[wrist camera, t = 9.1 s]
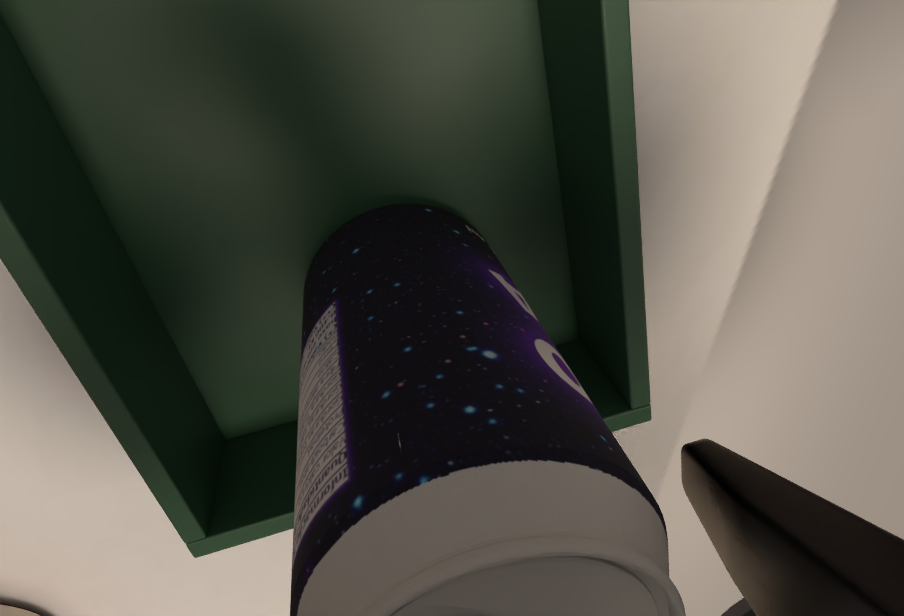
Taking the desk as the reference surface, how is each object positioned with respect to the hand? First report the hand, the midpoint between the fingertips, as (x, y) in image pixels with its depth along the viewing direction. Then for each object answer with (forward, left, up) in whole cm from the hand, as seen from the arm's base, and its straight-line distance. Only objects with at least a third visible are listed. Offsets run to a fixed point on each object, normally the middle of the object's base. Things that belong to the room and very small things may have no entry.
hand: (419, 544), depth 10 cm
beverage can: (-1, 0, -10) cm, 10 cm away
